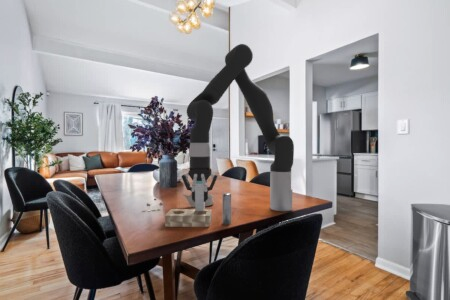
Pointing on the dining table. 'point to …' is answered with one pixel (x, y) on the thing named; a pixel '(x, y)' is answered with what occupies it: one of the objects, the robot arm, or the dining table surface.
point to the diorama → (154, 210)
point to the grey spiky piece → (192, 203)
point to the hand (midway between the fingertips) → (199, 201)
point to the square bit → (199, 196)
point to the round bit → (226, 208)
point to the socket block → (188, 218)
